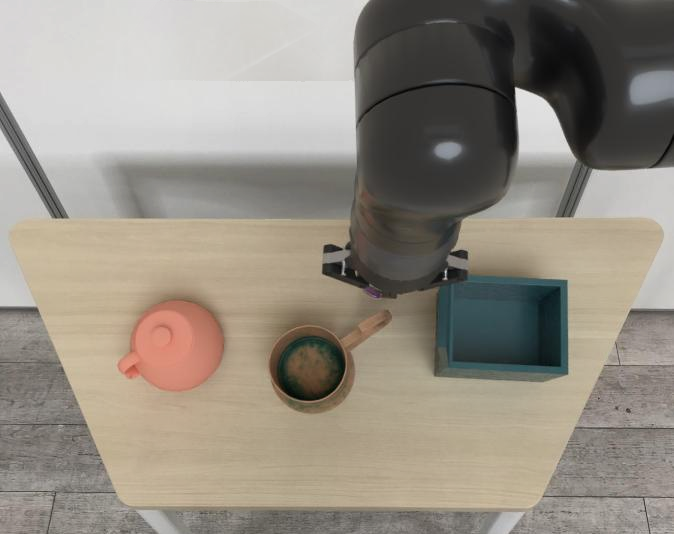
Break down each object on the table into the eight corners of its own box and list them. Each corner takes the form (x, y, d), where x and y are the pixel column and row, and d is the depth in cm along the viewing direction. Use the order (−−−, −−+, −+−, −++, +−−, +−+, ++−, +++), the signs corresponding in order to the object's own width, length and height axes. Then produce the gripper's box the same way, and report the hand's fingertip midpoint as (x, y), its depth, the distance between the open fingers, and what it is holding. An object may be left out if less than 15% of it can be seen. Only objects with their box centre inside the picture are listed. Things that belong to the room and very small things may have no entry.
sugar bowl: (242, 364, 85) (228, 353, 75) (153, 416, 84) (126, 412, 74) (200, 290, 87) (180, 270, 76) (113, 340, 86) (81, 326, 76)
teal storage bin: (543, 298, 85) (567, 279, 76) (543, 382, 83) (568, 374, 74) (436, 293, 86) (447, 274, 76) (434, 376, 84) (445, 368, 74)
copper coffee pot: (407, 363, 84) (417, 350, 72) (297, 429, 83) (288, 428, 71) (364, 293, 86) (366, 270, 74) (255, 357, 85) (240, 344, 73)
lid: (448, 229, 60) (440, 229, 61) (446, 347, 58) (437, 347, 59) (451, 273, 75) (444, 273, 76) (449, 368, 73) (442, 367, 74)
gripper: (497, 182, 44) (456, 254, 61) (313, 175, 44) (324, 249, 61) (496, 284, 43) (455, 328, 60) (307, 275, 43) (319, 322, 60)
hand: (388, 288), depth 60 cm, fingers closed
